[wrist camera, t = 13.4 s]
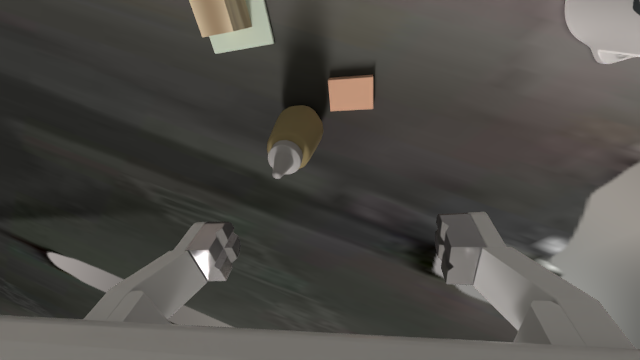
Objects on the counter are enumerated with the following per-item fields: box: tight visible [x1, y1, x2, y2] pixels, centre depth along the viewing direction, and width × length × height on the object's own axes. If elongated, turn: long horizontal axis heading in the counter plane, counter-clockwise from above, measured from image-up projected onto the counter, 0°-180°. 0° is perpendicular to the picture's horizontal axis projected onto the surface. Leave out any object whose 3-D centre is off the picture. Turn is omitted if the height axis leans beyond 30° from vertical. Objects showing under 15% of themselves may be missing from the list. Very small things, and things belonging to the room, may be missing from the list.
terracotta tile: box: [328, 75, 373, 111], centre depth 43 cm, size 7×5×2 cm
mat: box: [209, 0, 275, 54], centre depth 39 cm, size 10×10×1 cm
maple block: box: [189, 0, 252, 37], centre depth 36 cm, size 4×4×7 cm
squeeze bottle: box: [267, 105, 323, 179], centre depth 40 cm, size 8×8×18 cm
